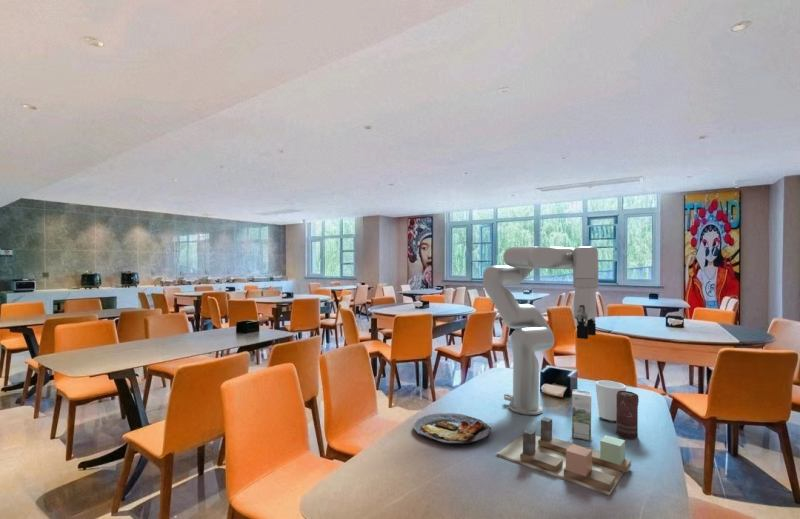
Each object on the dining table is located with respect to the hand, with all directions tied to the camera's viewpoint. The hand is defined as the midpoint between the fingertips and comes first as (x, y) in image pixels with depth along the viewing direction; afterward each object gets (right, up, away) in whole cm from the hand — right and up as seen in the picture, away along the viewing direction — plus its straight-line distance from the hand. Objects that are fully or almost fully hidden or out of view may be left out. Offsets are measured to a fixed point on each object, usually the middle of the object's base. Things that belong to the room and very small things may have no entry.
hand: (586, 336), depth 131 cm
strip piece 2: (-12, -32, -28) cm, 44 cm away
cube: (-2, -30, -20) cm, 36 cm away
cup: (+16, -33, +15) cm, 40 cm away
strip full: (-8, -31, -15) cm, 36 cm away
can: (+14, -33, +1) cm, 36 cm away
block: (-14, -30, -26) cm, 42 cm away
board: (-15, -32, -16) cm, 39 cm away
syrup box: (-2, -33, 0) cm, 33 cm away
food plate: (-44, -33, +2) cm, 55 cm away
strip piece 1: (-22, -31, -20) cm, 43 cm away
